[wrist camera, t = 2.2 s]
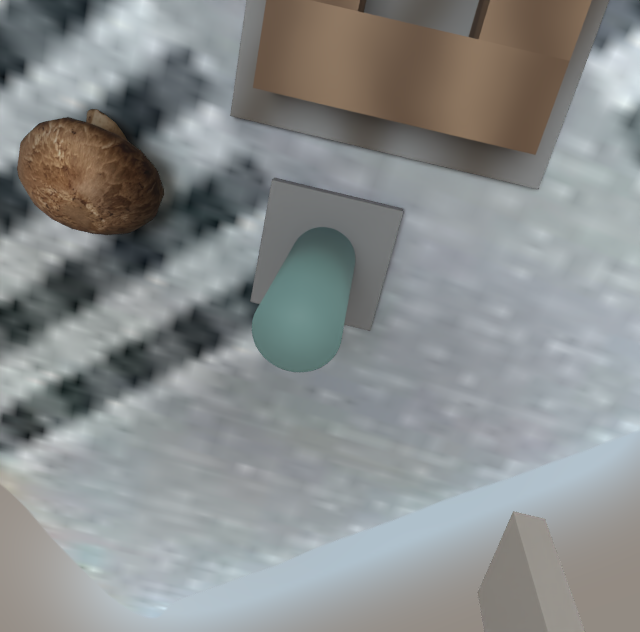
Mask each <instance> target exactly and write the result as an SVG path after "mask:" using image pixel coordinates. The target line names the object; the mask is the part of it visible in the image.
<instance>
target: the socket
mask: <svg viewBox="0 0 640 632" xmlns="http://www.w3.org/2000/svg"><path fill="white" fill-rule="evenodd" d="M608 2H609V0H247V1H246V8H245V15H244V22H243V29H242V36H241V43H240V50H239V58H238V65H237V72H236V79H235V86H234V93H233V100H232V107H231V115H230V116H233V117H238V118H242V119H246V120H250V121H254V122H259V123H263V124H267V125H271V126H275V127H279V128H284V129H288V130H292V131H296V132H300V133H305V134H309V135H313V136H317V137H321V138H326V139H330V140H334V141H338V142H342V143H347V144H351V145H355V146H359V147H363V148H368V149H372V150H376V151H380V152H384V153H389V154H393V155H397V156H401V157H405V158H409V159H414V160H418V161H422V162H426V163H430V164H435V165H439V166H443V167H447V168H451V169H456V170H460V171H464V172H468V173H472V174H477V175H481V176H485V177H489V178H493V179H498V180H502V181H506V182H510V183H514V184H519V185H523V186H527V187H531V188H535V189H539V186H540V184H541V181H542V178H543V176H544V173H545V170H546V168H547V165H548V162H549V160H550V157H551V154H552V152H553V149H554V146H555V144H556V141H557V138H558V136H559V133H560V130H561V128H562V125H563V122H564V120H565V117H566V114H567V112H568V109H569V106H570V104H571V101H572V98H573V96H574V93H575V90H576V88H577V85H578V82H579V80H580V77H581V74H582V72H583V69H584V66H585V64H586V61H587V58H588V56H589V53H590V50H591V48H592V45H593V42H594V40H595V37H596V34H597V32H598V29H599V26H600V24H601V21H602V18H603V16H604V13H605V10H606V8H607V5H608Z"/></svg>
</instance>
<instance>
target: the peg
mask: <svg viewBox="0 0 640 632" xmlns="http://www.w3.org/2000/svg"><path fill="white" fill-rule="evenodd" d="M355 259H356V258H355V252H354V248H353V246H352V244H351V242H350V241H349V240H348V238H347V237H346V236H345V235H343V234H342V233H341V232H339V231H337V230H335V229H332V228H327V227H317V228H313V229H310V230H308V231H306V232H305V233H303V234H302V235H301V236H300V237H299V238H298V239H297V240H296V242H295V244H294V245H293V247H292V249H291V251H290V252H289V254H288V256H287V258H286V259H285V261H284V263H283V265H282V266H281V268H280V270H279V272H278V273H277V275H276V277H275V279H274V280H273V282H272V284H271V286H270V287H269V289H268V291H267V293H266V294H265V296H264V298H263V299H262V301H261V303H260V305H259V306H258V308H257V310H256V312H255V314H254V317H253V321H252V335H253V339H254V342H255V345H256V347H257V348H258V350H259V352H260V353H261V354H262V355H263V357H264V358H265V359H267V360H268V361H269V362H270V363H272V364H273V365H275V366H277V367H279V368H281V369H284V370H287V371H291V372H308V371H313V370H316V369H318V368H321V367H322V366H324V365H326V364H327V363H328V362H329V361H330V360H331V359H332V358H333V357H334V356H335V354H336V353H337V351H338V349H339V347H340V344H341V339H342V333H343V328H344V322H345V317H346V311H347V306H348V300H349V295H350V289H351V284H352V278H353V273H354V267H355Z"/></svg>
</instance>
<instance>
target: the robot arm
mask: <svg viewBox="0 0 640 632" xmlns="http://www.w3.org/2000/svg"><path fill="white" fill-rule="evenodd" d="M478 597H479V603H480V608H481V615H482V621H483V626H484V632H585V630H584V627H583V624H582V622H581V619H580V616H579V613H578V611H577V607H576V605H575V602H574V599H573V596H572V594H571V591H570V588H569V585H568V582H567V579H566V577H565V574H564V571H563V568H562V565H561V563H560V560H559V557H558V554H557V551H556V548H555V546H554V543H553V540H552V537H551V535H550V532H549V529H548V526H547V524H546V520H545V519H543V518H539V517H535V516H530V515H526V514H522V513H518V512H513V513H512V515H511V518H510V520H509V522H508V525H507V527H506V529H505V531H504V534H503V536H502V538H501V540H500V543H499V545H498V548H497V550H496V552H495V554H494V556H493V559H492V561H491V563H490V566H489V568H488V570H487V572H486V575H485V577H484V579H483V581H482V584H481V586H480V588H479V591H478Z"/></svg>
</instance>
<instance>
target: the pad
mask: <svg viewBox="0 0 640 632" xmlns="http://www.w3.org/2000/svg"><path fill="white" fill-rule="evenodd" d="M403 212H404V211H403V208H398V207H394V206H390V205H386V204H382V203H378V202H373V201H369V200H365V199H361V198H357V197H353V196H348V195H344V194H340V193H336V192H332V191H328V190H323V189H319V188H315V187H311V186H307V185H303V184H298V183H294V182H290V181H286V180H282V179H278V178H274V179H272V183H271V188H270V194H269V200H268V205H267V211H266V217H265V222H264V228H263V233H262V239H261V245H260V250H259V256H258V262H257V267H256V273H255V279H254V284H253V290H252V295H251V301H250V302H254V303H258V304H260V303H261V301H262V299H263V298H264V296H265V294H266V293H267V291H268V289H269V287H270V286H271V284H272V282H273V280H274V279H275V277H276V275H277V273H278V272H279V270H280V268H281V266H282V265H283V263H284V261H285V259H286V258H287V256H288V254H289V252H290V251H291V249H292V247H293V245H294V244H295V242H296V240H297V239H298V238H299V237H300V236H301V235H302V234H303V233H305V232H306V231H308V230H310V229H313V228H317V227H327V228H332V229H335V230H337V231H339V232H341V233H342V234H343V235H345V236H346V237H347V238H348V240H349V241H350V242H351V244H352V246H353V248H354V252H355V258H356V259H355V267H354V273H353V278H352V284H351V289H350V295H349V300H348V306H347V311H346V317H345V322H344V325H348V326H352V327H356V328H360V329H364V330H368V331H370V330H371V326H372V322H373V319H374V315H375V312H376V308H377V305H378V301H379V297H380V294H381V290H382V287H383V283H384V280H385V276H386V272H387V269H388V265H389V262H390V258H391V255H392V251H393V247H394V244H395V240H396V237H397V233H398V230H399V226H400V222H401V219H402V215H403Z"/></svg>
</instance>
